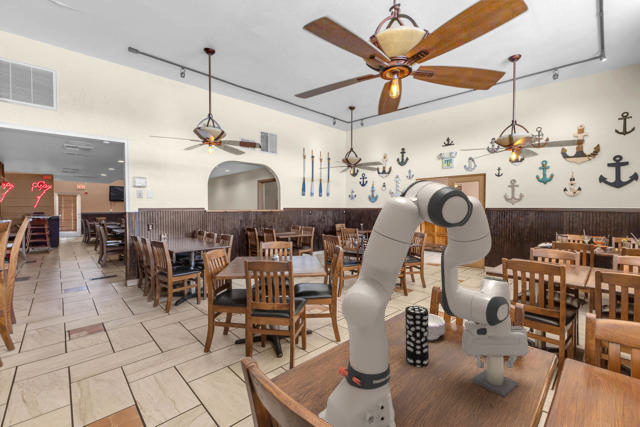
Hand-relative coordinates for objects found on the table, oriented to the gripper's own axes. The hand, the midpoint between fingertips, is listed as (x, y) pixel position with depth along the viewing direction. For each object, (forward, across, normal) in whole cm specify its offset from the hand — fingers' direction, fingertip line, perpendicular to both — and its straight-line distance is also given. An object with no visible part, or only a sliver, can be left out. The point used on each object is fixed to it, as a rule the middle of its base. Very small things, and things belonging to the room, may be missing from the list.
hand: (494, 367), depth 97 cm
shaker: (+5, 0, 0) cm, 5 cm away
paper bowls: (+6, +11, -36) cm, 38 cm away
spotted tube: (+6, +22, -14) cm, 26 cm away
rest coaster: (+6, 0, 0) cm, 6 cm away
